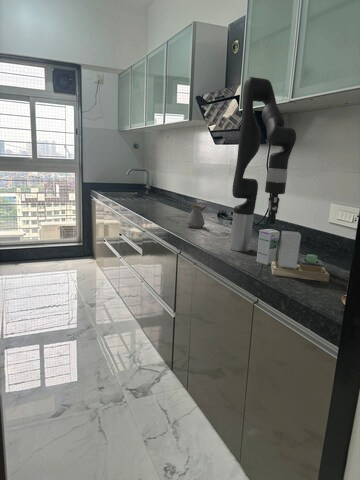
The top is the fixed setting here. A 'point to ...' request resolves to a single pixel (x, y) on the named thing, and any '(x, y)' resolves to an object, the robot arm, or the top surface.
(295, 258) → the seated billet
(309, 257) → the button
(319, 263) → the dark grey square block
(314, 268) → the wooden tray
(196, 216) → the coffee pot
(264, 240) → the syrup box
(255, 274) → the top surface
